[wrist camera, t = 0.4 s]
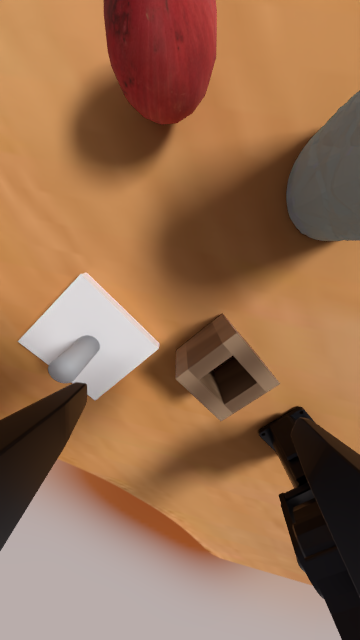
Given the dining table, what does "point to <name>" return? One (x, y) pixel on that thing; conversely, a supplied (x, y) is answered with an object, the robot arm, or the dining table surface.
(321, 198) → the grey-blue tapered cup
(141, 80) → the onion
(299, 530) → the robot arm
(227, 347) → the collar
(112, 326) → the post base
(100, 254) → the dining table surface
